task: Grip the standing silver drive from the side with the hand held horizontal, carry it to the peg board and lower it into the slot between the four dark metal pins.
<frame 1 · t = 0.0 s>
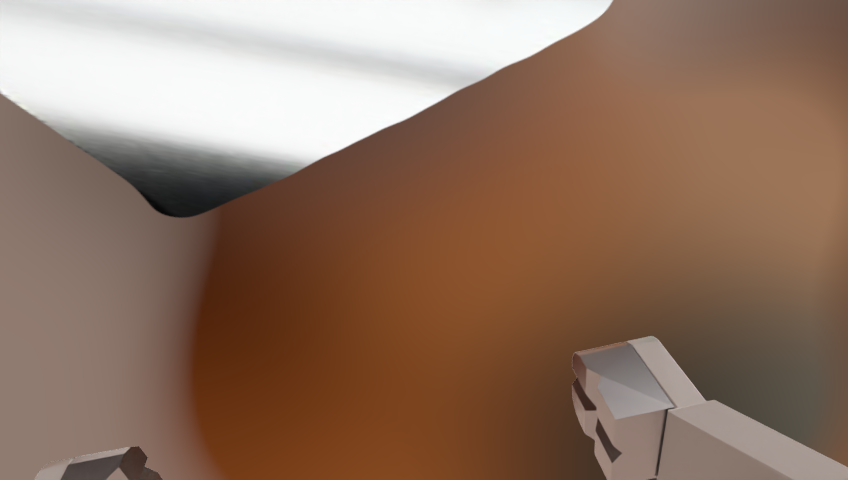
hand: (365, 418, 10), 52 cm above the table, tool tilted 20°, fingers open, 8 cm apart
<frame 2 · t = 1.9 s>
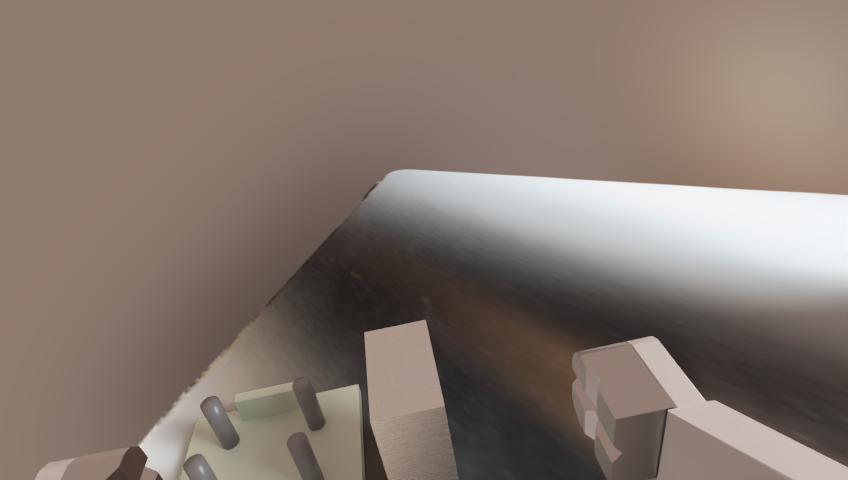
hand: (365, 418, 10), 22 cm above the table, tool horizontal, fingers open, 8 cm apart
peg board: (275, 469, 35), on the table
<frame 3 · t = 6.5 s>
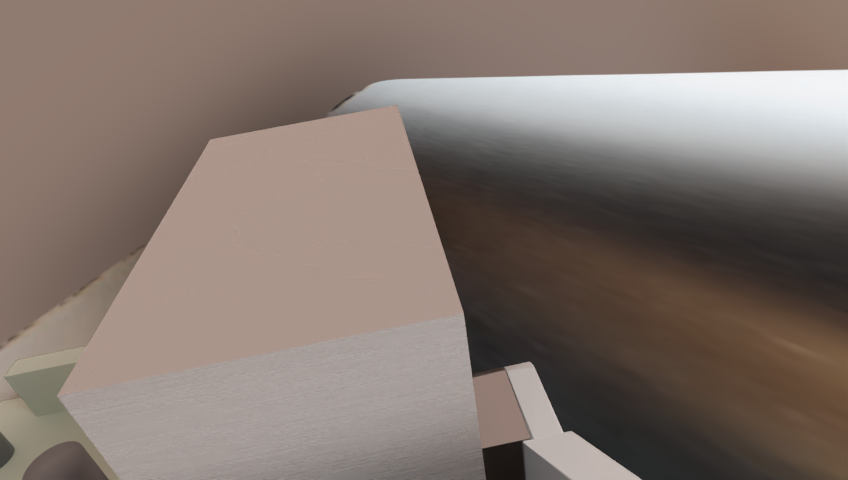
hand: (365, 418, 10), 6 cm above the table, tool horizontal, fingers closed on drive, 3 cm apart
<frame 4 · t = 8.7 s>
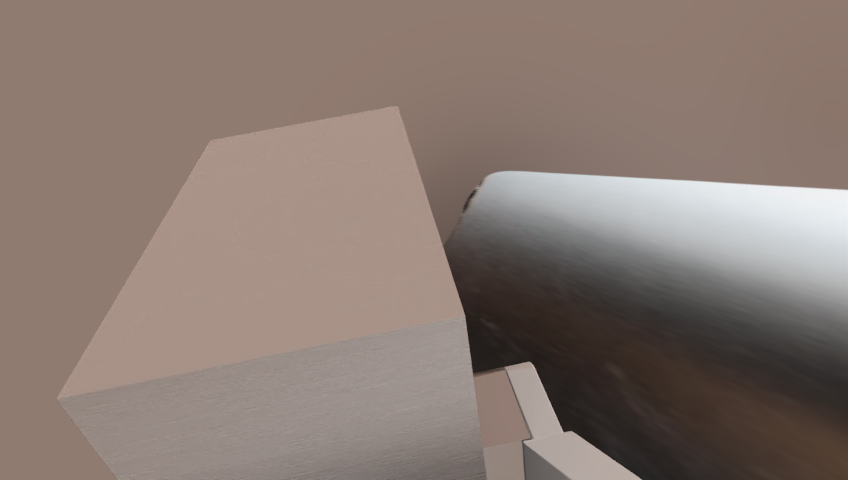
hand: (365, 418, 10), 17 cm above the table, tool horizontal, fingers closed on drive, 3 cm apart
when the fingers open (8 cm above the table, at t = 11.1 s): drive drops 1 cm, resting on peg board.
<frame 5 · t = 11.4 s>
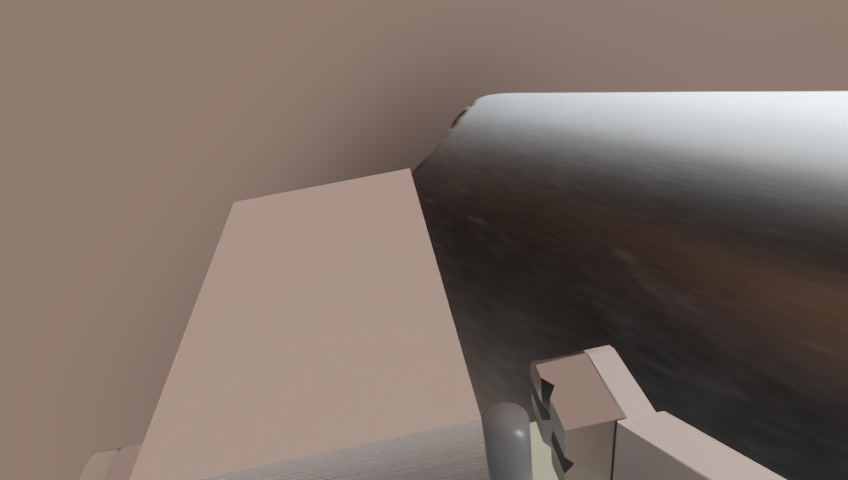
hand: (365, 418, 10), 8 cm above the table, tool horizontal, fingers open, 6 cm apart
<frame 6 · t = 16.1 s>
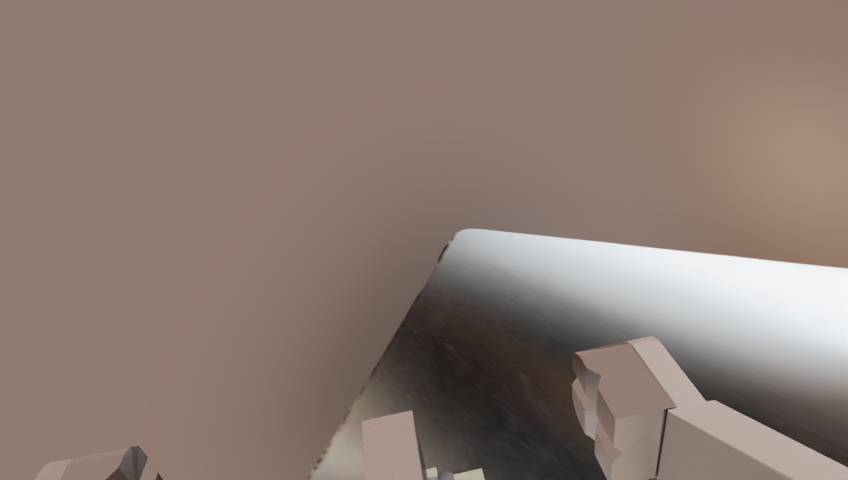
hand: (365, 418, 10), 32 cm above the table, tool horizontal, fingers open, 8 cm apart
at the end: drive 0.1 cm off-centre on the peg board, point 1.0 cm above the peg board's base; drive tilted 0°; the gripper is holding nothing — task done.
